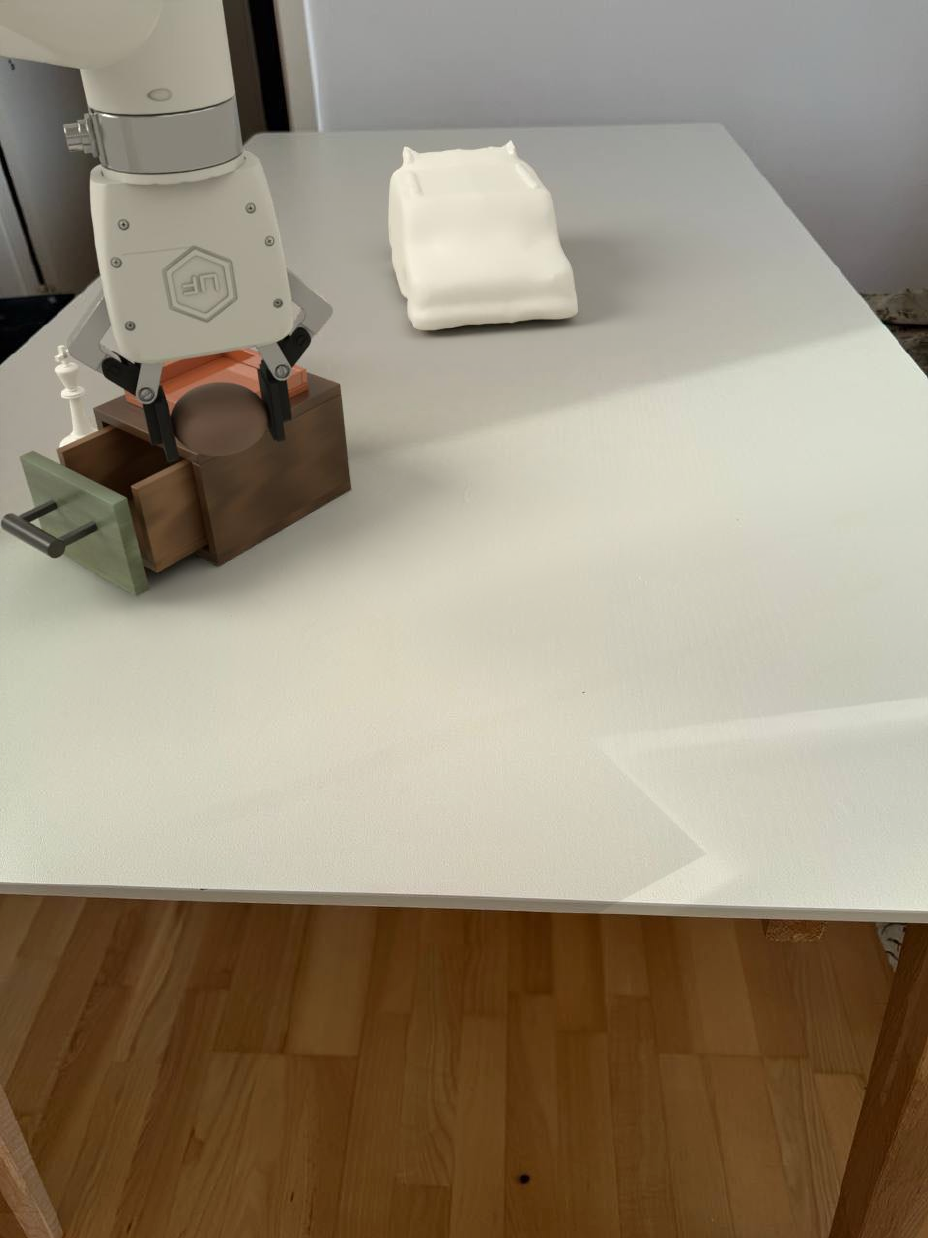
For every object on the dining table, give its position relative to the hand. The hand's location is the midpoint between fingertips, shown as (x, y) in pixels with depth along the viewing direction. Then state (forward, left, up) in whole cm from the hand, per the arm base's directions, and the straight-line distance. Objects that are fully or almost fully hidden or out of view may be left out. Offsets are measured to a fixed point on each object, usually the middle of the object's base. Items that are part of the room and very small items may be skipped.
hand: (223, 439), depth 69 cm
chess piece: (-9, +34, -16) cm, 39 cm away
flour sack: (+39, +58, -16) cm, 72 cm away
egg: (0, 0, -1) cm, 1 cm away
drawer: (-6, +14, -15) cm, 21 cm away
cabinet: (+2, +19, -16) cm, 25 cm away
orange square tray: (+2, +19, -6) cm, 20 cm away
